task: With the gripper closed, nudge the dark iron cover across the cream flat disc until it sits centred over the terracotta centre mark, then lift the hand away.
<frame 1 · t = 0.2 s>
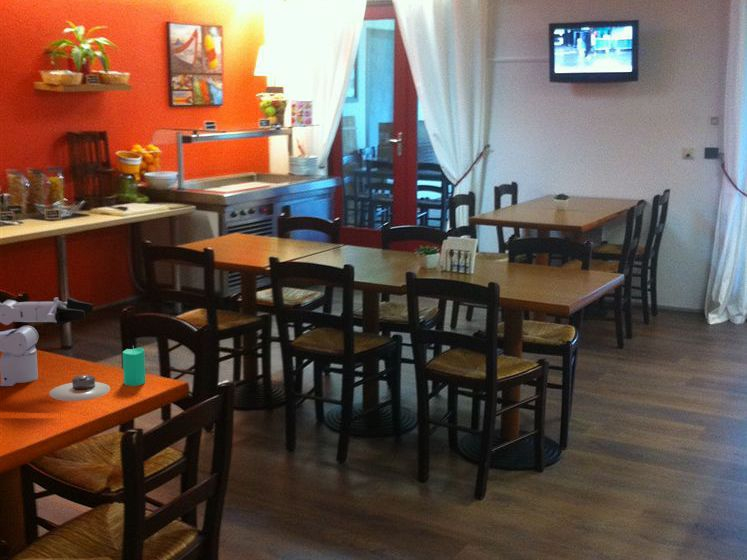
hand: (88, 311, 253), 21 cm above the table, tool horizontal, fingers open, 7 cm apart
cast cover: (84, 386, 250), point 1 cm above the table, touching cream flat disc
candle: (135, 386, 255), on the table
cream flat disc: (80, 392, 247), point 1 cm above the table, hinge at 0.0°, touching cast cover
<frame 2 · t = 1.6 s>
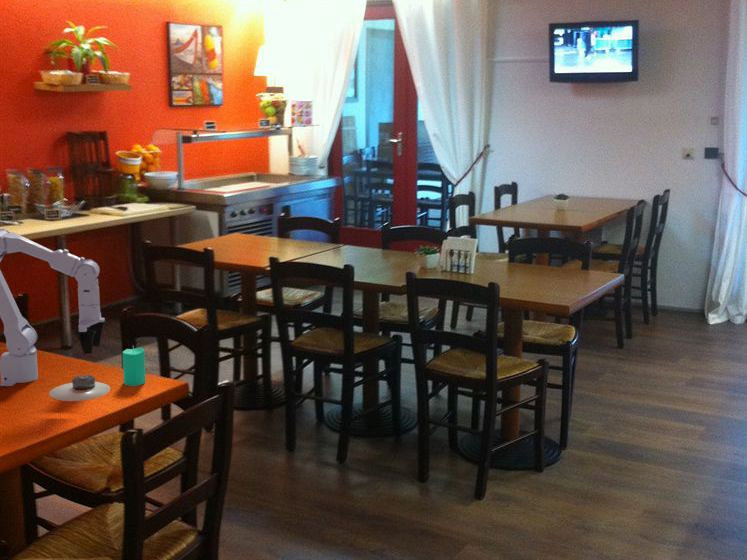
hand: (91, 349, 257), 9 cm above the table, tool pointing down, fingers open, 7 cm apart
nothing on the table moved.
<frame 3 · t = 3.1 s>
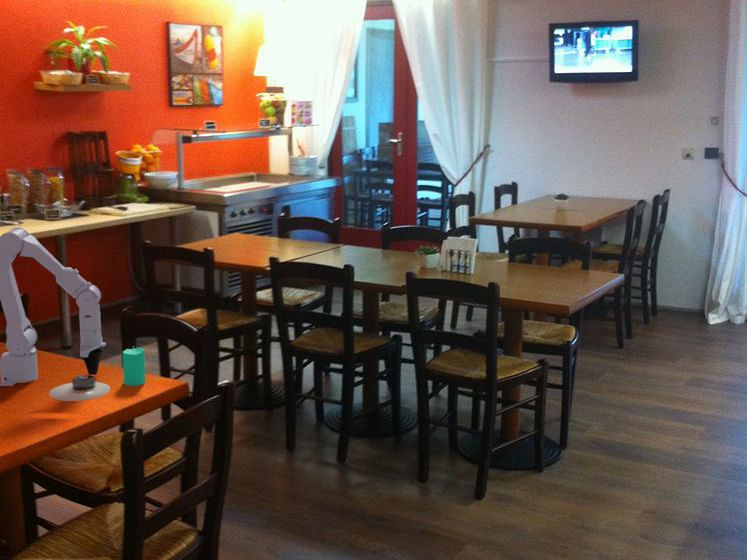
hand: (93, 374, 259), 2 cm above the table, tool pointing down, fingers closed
nothing on the table moved.
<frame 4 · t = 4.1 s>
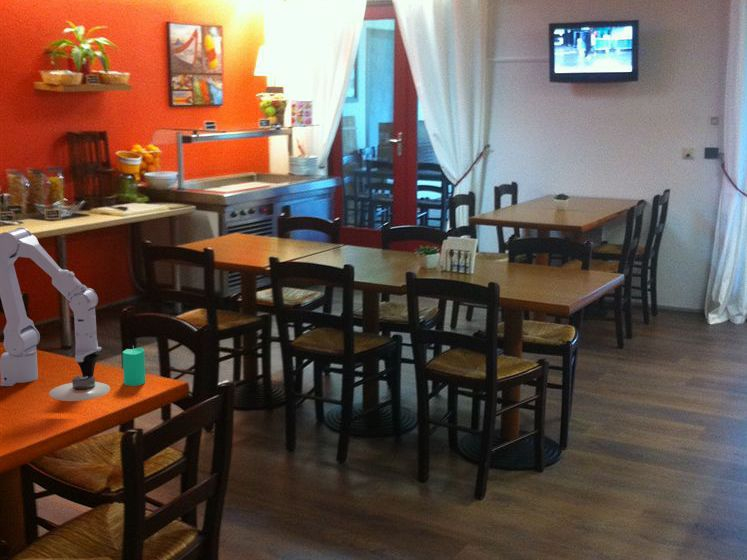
hand: (88, 378, 254), 2 cm above the table, tool pointing down, fingers closed
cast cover: (84, 386, 250), point 1 cm above the table, touching gripper, cream flat disc
everything else where it was.
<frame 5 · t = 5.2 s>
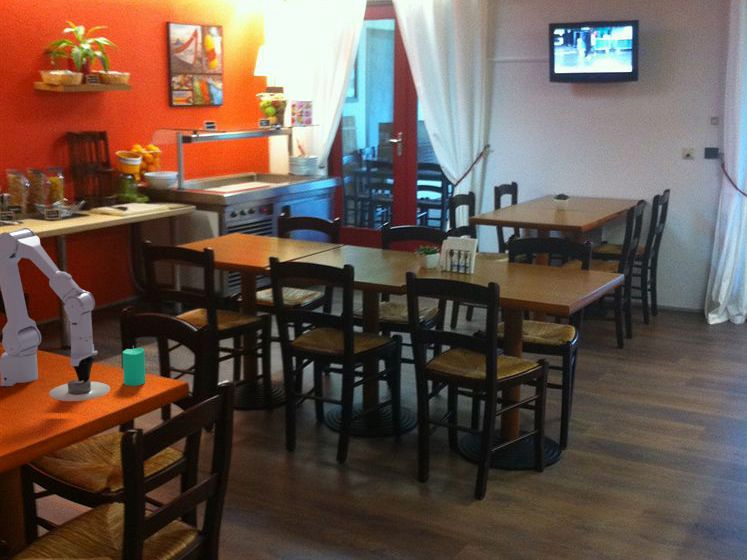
hand: (84, 383, 251), 2 cm above the table, tool pointing down, fingers closed
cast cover: (79, 391, 247), point 1 cm above the table, touching gripper, cream flat disc
everything else where it was.
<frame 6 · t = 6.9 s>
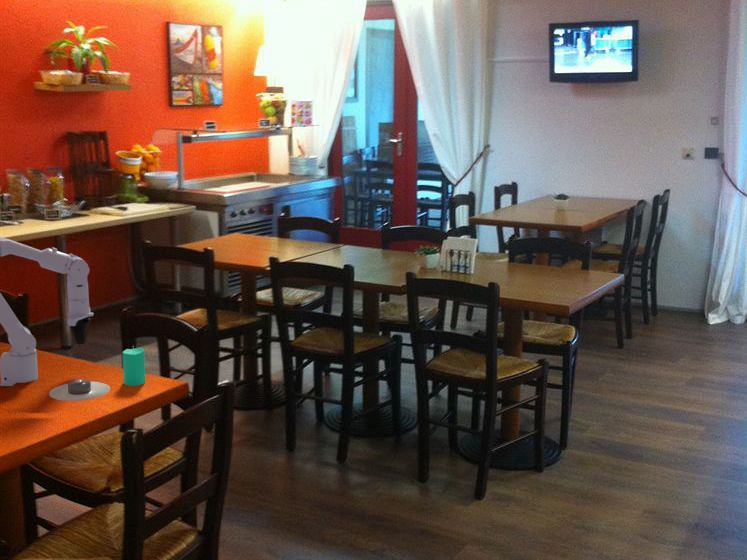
hand: (80, 343, 263), 9 cm above the table, tool pointing down, fingers closed
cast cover: (79, 391, 247), point 1 cm above the table, touching cream flat disc
everything else where it was.
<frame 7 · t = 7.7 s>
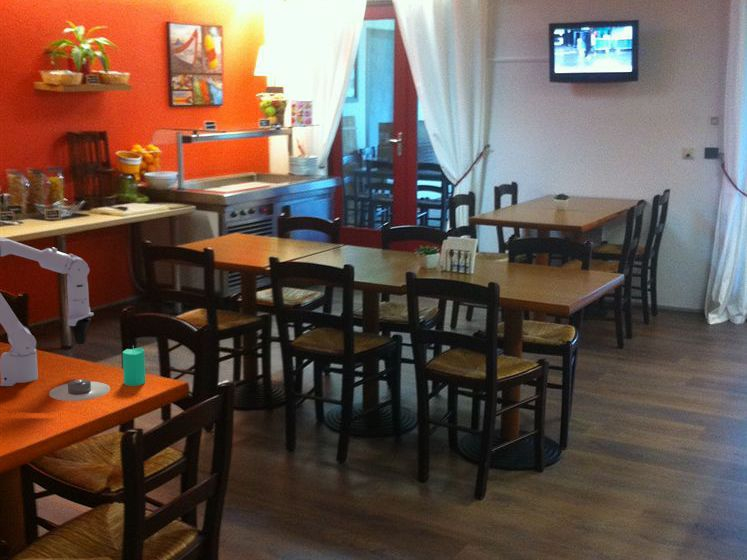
hand: (80, 343, 263), 9 cm above the table, tool pointing down, fingers closed
nothing on the table moved.
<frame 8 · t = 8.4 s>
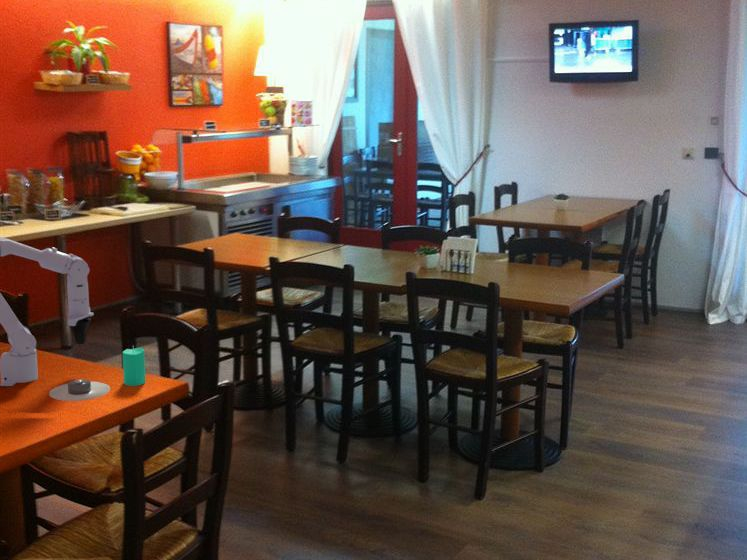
hand: (80, 343, 263), 9 cm above the table, tool pointing down, fingers closed
nothing on the table moved.
at the end: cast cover 0.2 cm from the cream flat disc (horizontally); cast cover point 1.2 cm above the table; the gripper is holding nothing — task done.
